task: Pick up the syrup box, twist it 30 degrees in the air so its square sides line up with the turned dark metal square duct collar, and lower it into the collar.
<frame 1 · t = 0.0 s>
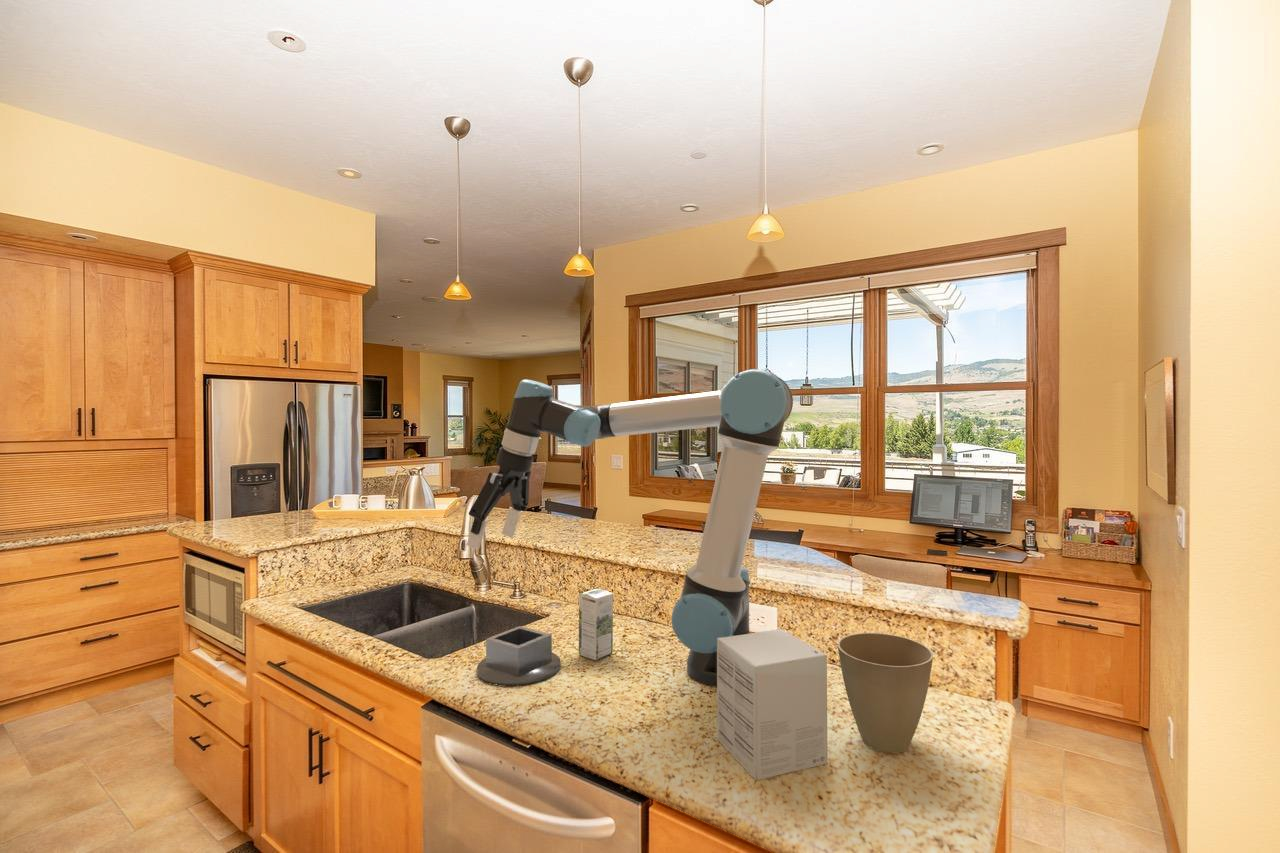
hand: (490, 541, 134), 28 cm above the worktop, tool tilted 20°, fingers open, 13 cm apart
duct collar: (519, 668, 134), on the worktop
supplement box: (770, 752, 100), on the worktop
plant pot: (884, 743, 102), on the worktop
syrup box: (596, 655, 141), on the worktop
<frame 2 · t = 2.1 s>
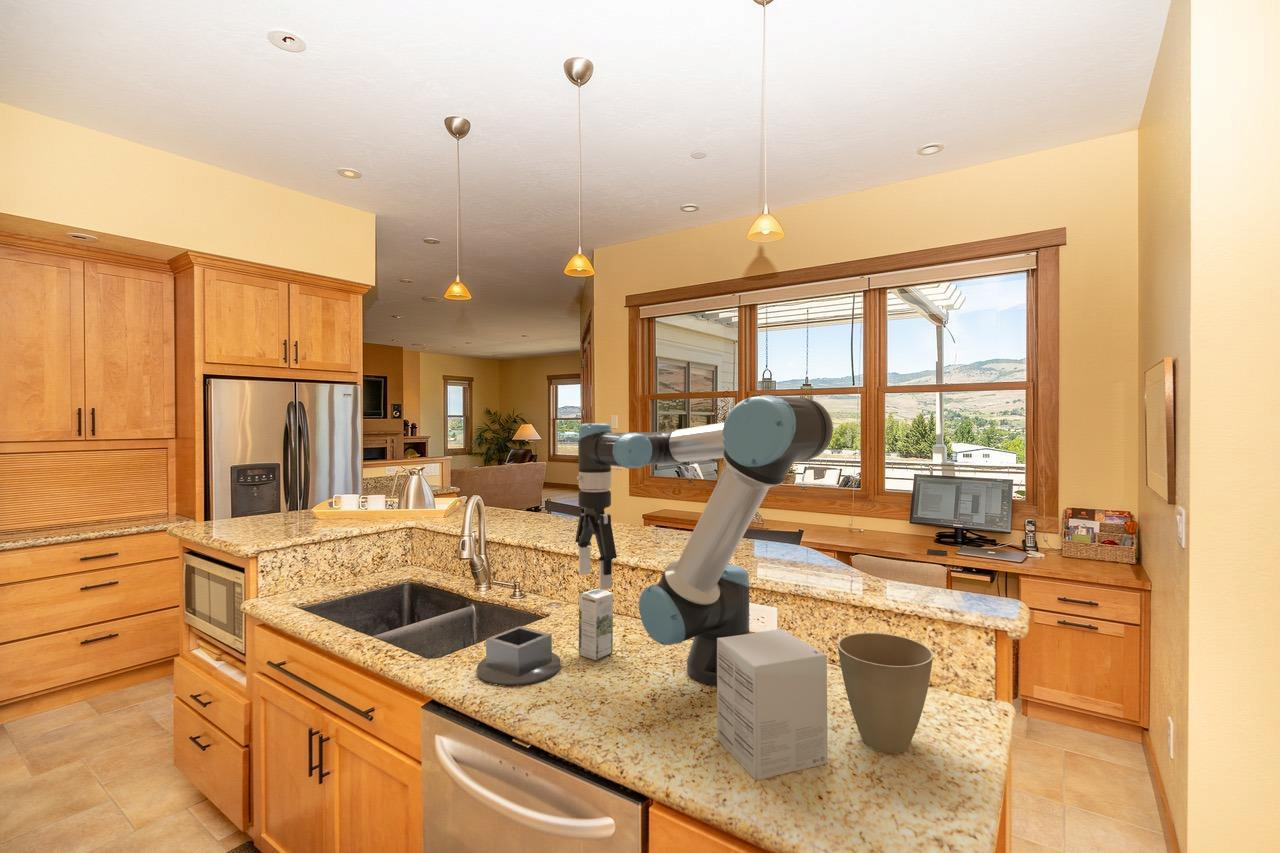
hand: (594, 581, 141), 17 cm above the worktop, tool pointing down, fingers open, 13 cm apart
nothing on the worktop moved.
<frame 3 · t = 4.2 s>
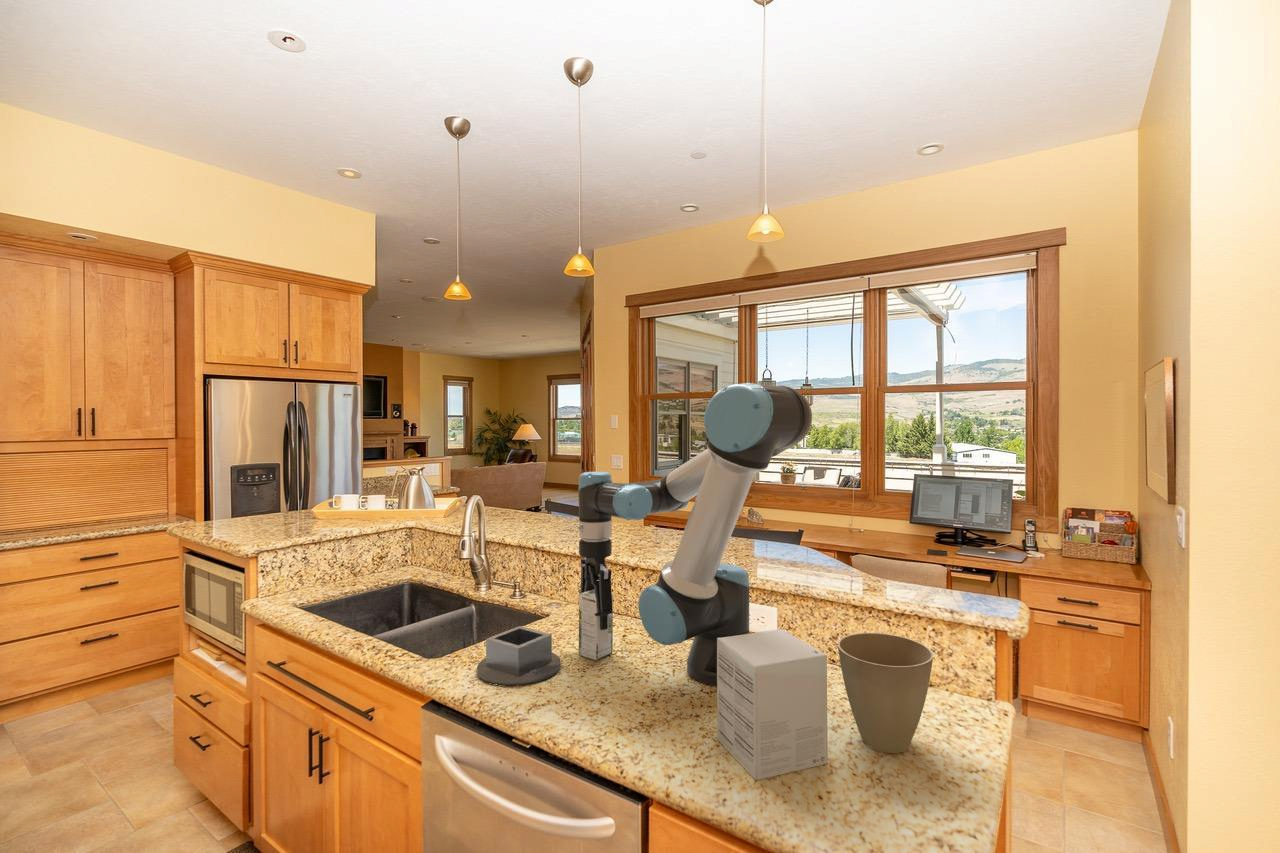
hand: (595, 636, 141), 4 cm above the worktop, tool pointing down, fingers closed on syrup box, 7 cm apart
syrup box: (596, 655, 141), on the worktop, touching gripper
everything else where it was.
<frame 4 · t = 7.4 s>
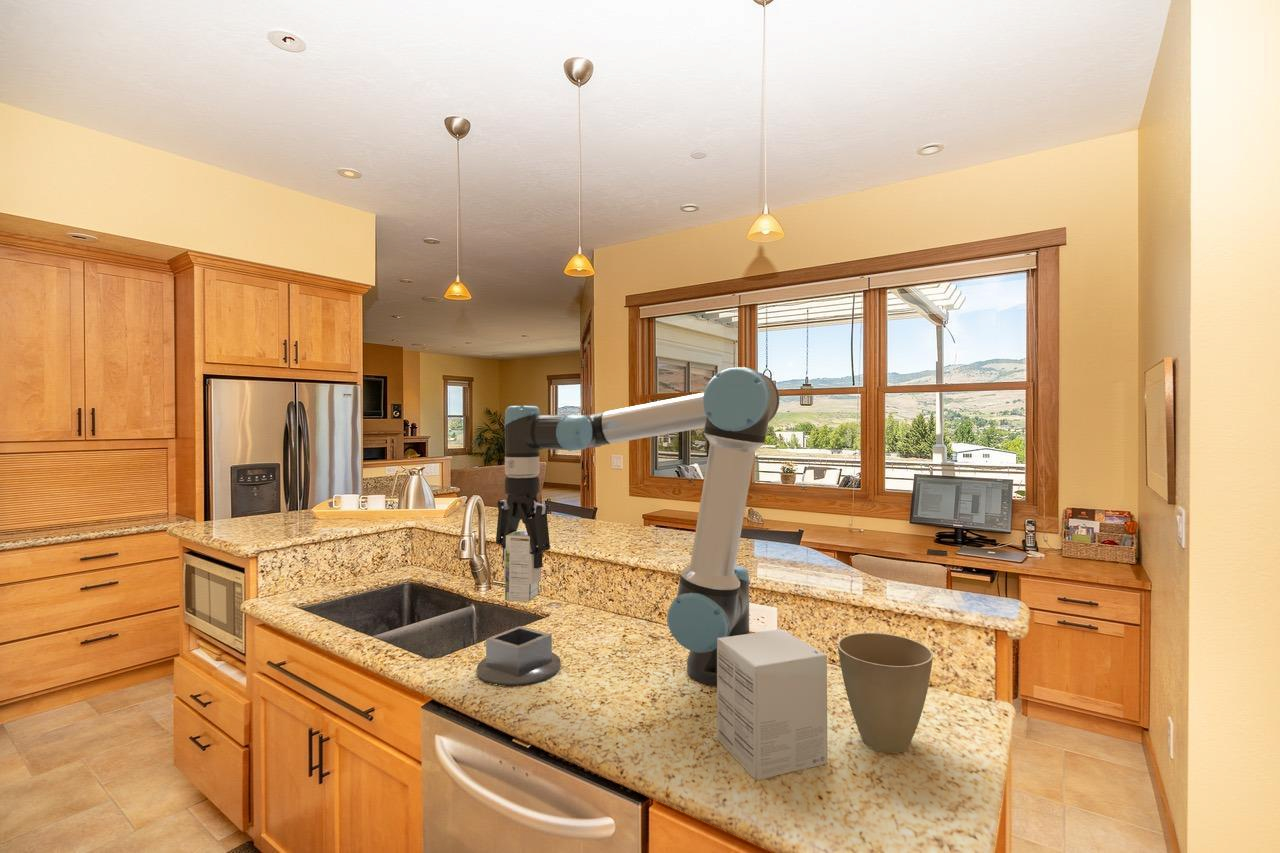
hand: (522, 579, 134), 19 cm above the worktop, tool pointing down, fingers closed on syrup box, 7 cm apart
syrup box: (522, 598, 134), point 15 cm above the worktop, touching gripper
everything else where it was.
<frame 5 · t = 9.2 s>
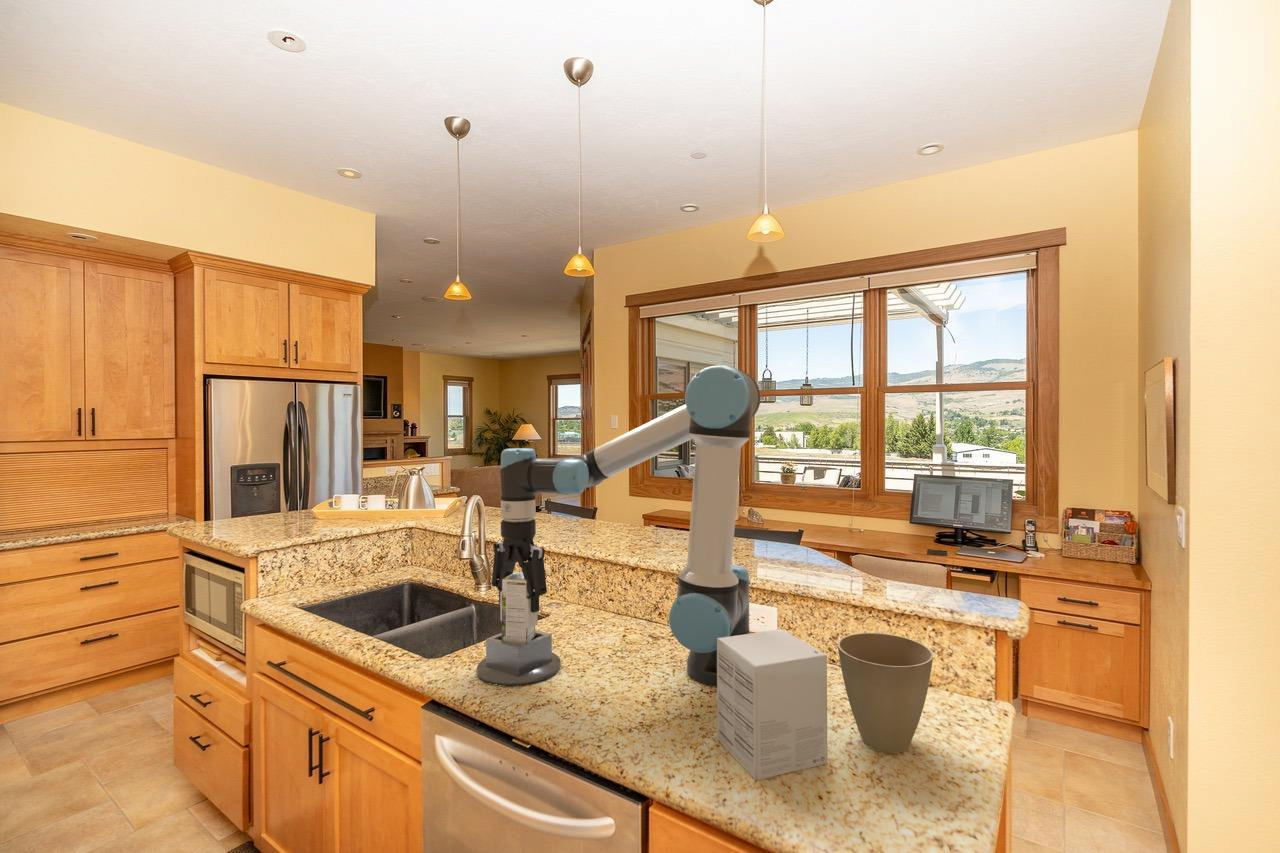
hand: (518, 622, 134), 10 cm above the worktop, tool pointing down, fingers closed on syrup box, 7 cm apart
syrup box: (519, 642, 134), point 6 cm above the worktop, touching gripper
everything else where it was.
when the fingers open (9 cm above the worktop, at t = 10.5 s): syrup box drops 4 cm, resting on duct collar.
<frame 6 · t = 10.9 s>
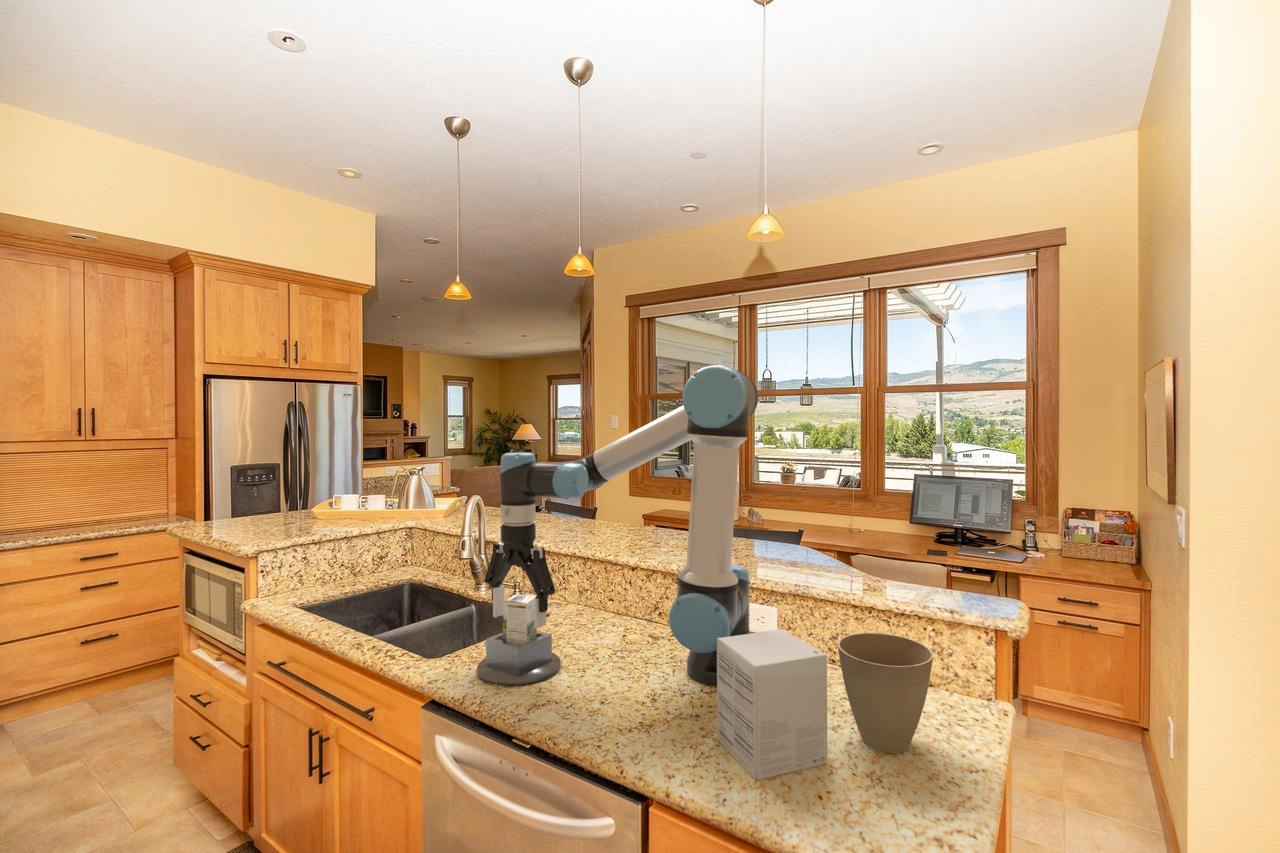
hand: (519, 621, 134), 10 cm above the worktop, tool pointing down, fingers open, 12 cm apart
syrup box: (520, 664, 134), point 1 cm above the worktop, touching duct collar
everything else where it was.
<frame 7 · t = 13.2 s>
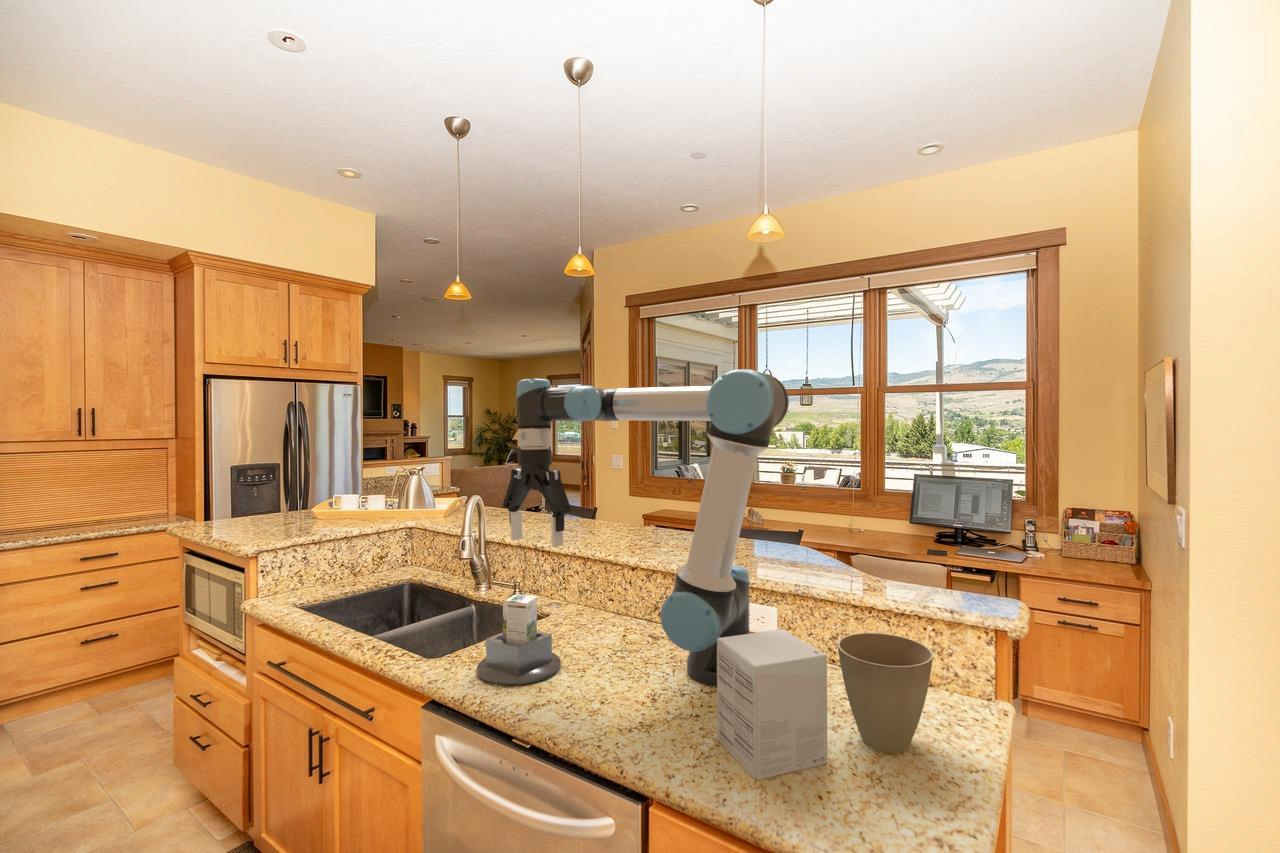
hand: (536, 542, 137), 27 cm above the worktop, tool pointing down, fingers open, 13 cm apart
nothing on the worktop moved.
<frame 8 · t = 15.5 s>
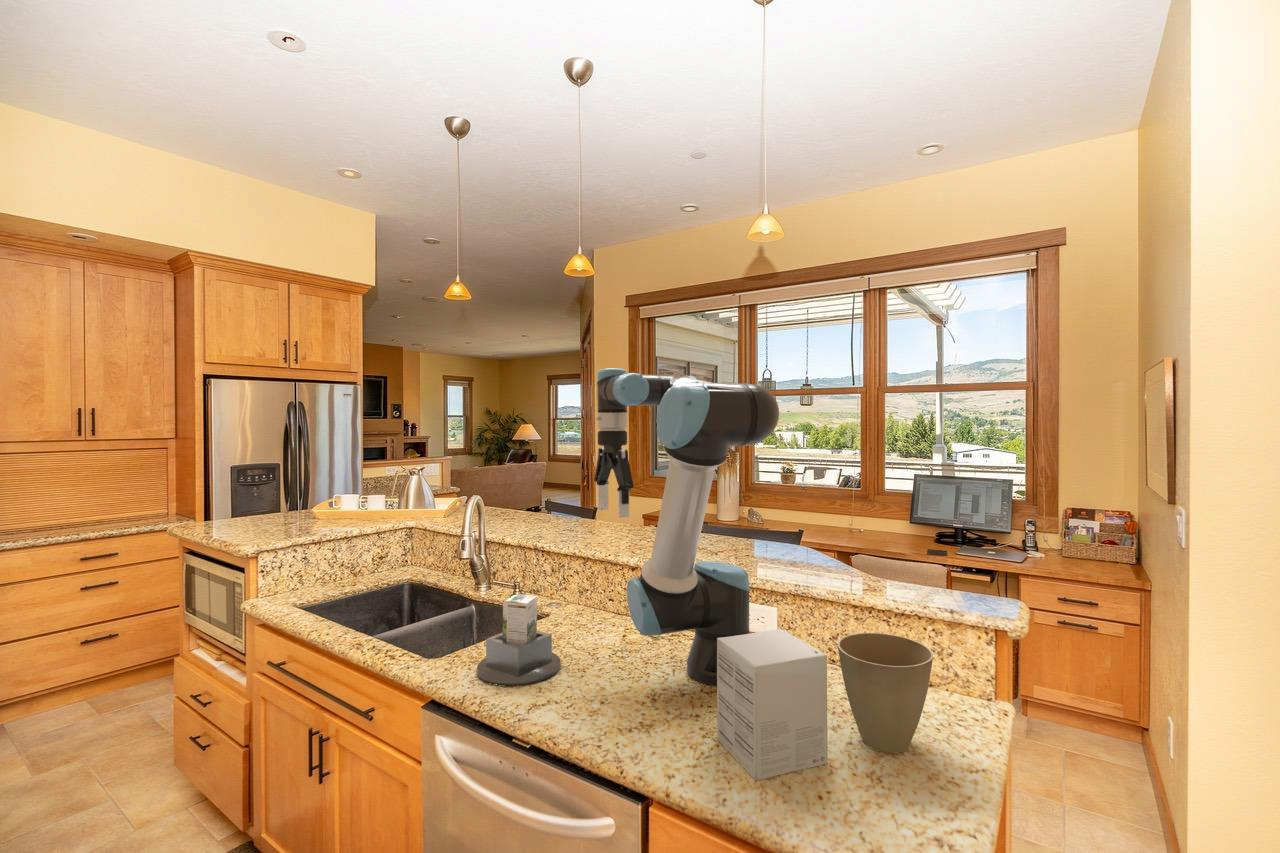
hand: (612, 513, 155), 31 cm above the worktop, tool pointing down, fingers open, 13 cm apart
nothing on the worktop moved.
at the end: syrup box 0.2 cm off-centre on the duct collar, point 0.8 cm above the duct collar's base; syrup box tilted 0°; the gripper is holding nothing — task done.
